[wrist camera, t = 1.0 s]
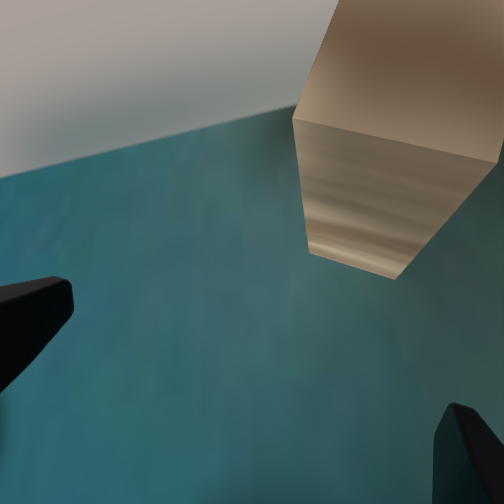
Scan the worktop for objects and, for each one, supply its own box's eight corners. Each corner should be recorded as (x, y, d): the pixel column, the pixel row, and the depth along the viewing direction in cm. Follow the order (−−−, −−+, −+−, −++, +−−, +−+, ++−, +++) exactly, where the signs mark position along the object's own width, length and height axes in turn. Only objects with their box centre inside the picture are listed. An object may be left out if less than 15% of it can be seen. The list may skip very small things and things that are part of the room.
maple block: (395, 279, 21) (496, 163, 9) (309, 252, 22) (292, 117, 10) (419, 200, 22) (541, -6, 10) (335, 178, 23) (349, -27, 11)
